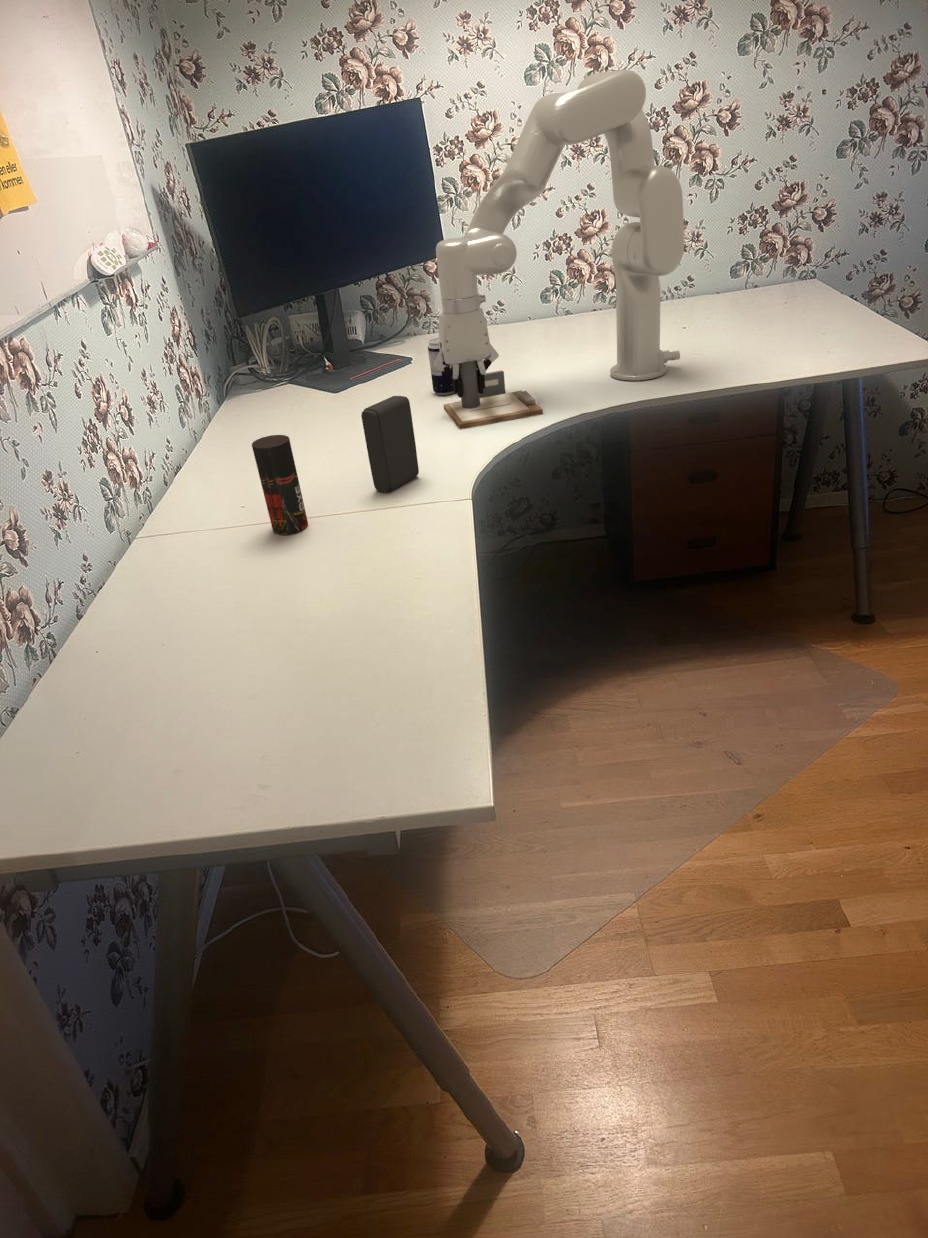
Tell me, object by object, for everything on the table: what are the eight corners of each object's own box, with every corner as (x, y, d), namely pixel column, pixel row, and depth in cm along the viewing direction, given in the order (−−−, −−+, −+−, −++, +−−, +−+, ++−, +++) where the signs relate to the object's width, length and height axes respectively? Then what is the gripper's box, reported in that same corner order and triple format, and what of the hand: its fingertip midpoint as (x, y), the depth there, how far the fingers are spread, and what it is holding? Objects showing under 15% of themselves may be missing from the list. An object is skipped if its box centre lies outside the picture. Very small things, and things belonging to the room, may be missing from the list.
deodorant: (274, 522, 144) (254, 437, 136) (309, 517, 144) (290, 432, 136) (271, 537, 139) (249, 450, 131) (307, 532, 139) (287, 445, 131)
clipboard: (521, 394, 190) (521, 385, 189) (543, 413, 177) (542, 404, 176) (443, 408, 187) (442, 399, 186) (459, 429, 174) (458, 419, 173)
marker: (478, 400, 185) (472, 345, 179) (483, 405, 181) (477, 349, 175) (459, 403, 184) (453, 348, 178) (464, 409, 181) (457, 353, 175)
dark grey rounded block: (406, 472, 157) (394, 392, 149) (422, 476, 155) (411, 395, 147) (372, 491, 151) (357, 409, 144) (388, 495, 149) (374, 411, 141)
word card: (504, 392, 193) (502, 370, 190) (505, 393, 192) (503, 371, 189) (461, 399, 191) (459, 377, 189) (462, 401, 190) (460, 379, 188)
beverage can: (455, 396, 194) (449, 342, 188) (431, 397, 195) (424, 344, 189) (460, 388, 199) (454, 336, 193) (436, 389, 200) (430, 337, 194)
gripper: (495, 295, 176) (502, 382, 186) (416, 308, 174) (428, 396, 183) (505, 301, 170) (512, 391, 180) (424, 314, 168) (435, 405, 177)
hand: (469, 392), depth 181 cm, fingers closed on marker, 4 cm apart
